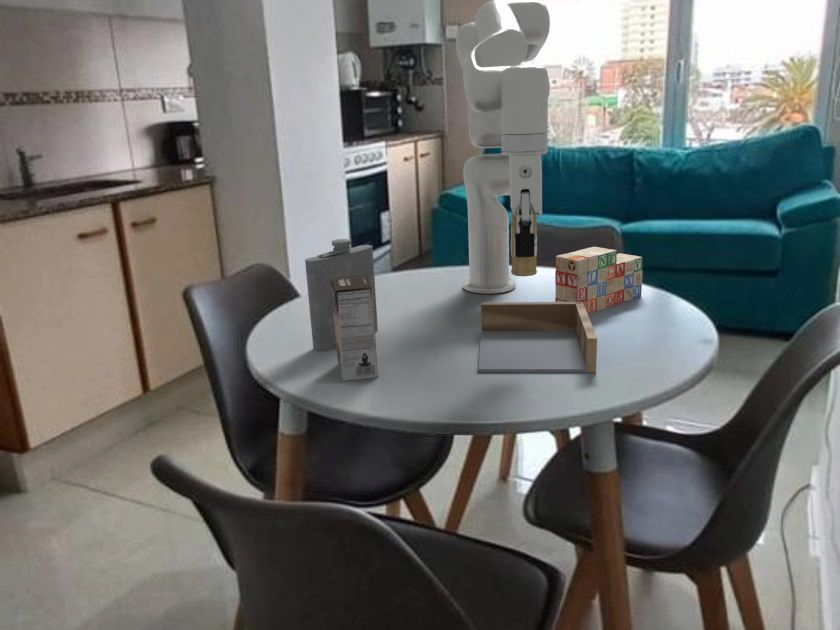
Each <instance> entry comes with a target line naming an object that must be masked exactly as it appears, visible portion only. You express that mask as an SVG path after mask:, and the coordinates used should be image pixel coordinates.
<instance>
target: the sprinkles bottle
mask: <svg viewBox="0 0 840 630" xmlns="http://www.w3.org/2000/svg"><path fill="white" fill-rule="evenodd" d="M509 206H510V211H511V226H510V252H511V253H510V256H511V269H510V270H511V271H510V274H511V275H513V276H515V277H532V276H535V275H537V273H538V270H537V255H538V235H537V234H538V230H537V229H538V227H537V221H538V220H537V219H538V218H537V217H538V213H535V212H534V209H533V233H535V243H534V256H533V257H516V256H515V233H517V218H516V216H517V213H516V216H515V215H514V214H513V212H512V206H511V203H510V205H509ZM516 210H517V207H516ZM519 215H522V211H519ZM529 215H531V211H529ZM529 219H530V218H529ZM520 220H522V219H520Z"/></svg>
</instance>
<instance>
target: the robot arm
mask: <svg viewBox="0 0 840 630" xmlns="http://www.w3.org/2000/svg"><path fill="white" fill-rule="evenodd" d="M550 18H551V17H550V13H549V10H548V8H547V6H546V4H545V3H544V2H543V1H542V0H489V1H487V2H486V3H484V4H482V5H481V6H480V7H479V8H478V10H477V12H476V14H475V17H474V21H471V22H468V23H465V24H463V25H461V26H460V27H459V28H458V29H457V31H456V34H455V48H456V55H457V60H458V62H459V65H460V67H461V71H462V81H463V87H464V93H465V97H466V98H465V99H466V101H467V120H468V123H467V124H468V135H469V136H468V137H469V140H470V143H471V145H473V147H476V148H480V149H498V148H499V149H501V153H486V154H485V153H484V154H479V155H477V154H476V155H474V156H471V157H470V158H468V159H467V160H466V161H465V163H464V164H463V169H462V170H463V171H462V176H463V183H464V189H465V195H466V205H467V206H466V207H467V219H468V220H467V223H468V224H467V225H468V226H467V227H468V228H467V229H468V261H469V262H468V264H469V266H468V268H469V270H468V271H469V273H468V274H469V279H467V280H465V281H464V282H463V286H462V288H463V289H464V290H466V291H467V292H470V293H473V294H474V293H475V294H487V295H488V294H490V295H491V294H501V293H507V292H511V291H512V290H514V289H515V288H516V281H515V280H514V279H512V278H510V255H509V254H510V253H509V252H510V248H509V247H510V245H509V243H510V241H509V240H510V229H509V227H510V226H509V225H510V223H509V222H510V221H509V213H508V211H507V209H506V207H505V206H503V204H502V203H501V202H500V201H499V200H498V197H502V196H509V198H510V204H511V206H512V208H511V209H512V211H511V213H512V212H513V214H514V215H515V216H516V213H517V216H516V218H517V233H515V256H516V257H533V256H534V243H535V233H533V209H534V212H535V213H537V216H541V215H542V214H543V169H542V167H543V164H542V163H543V162H542V155H546V154H548V128H549V127H548V123H549V122H548V120H549V116H548V115H549V98H550V90H551V85H550V78H549V73H548V70H547V68H546V67H545V66H543V65H539V64H527V65H524V64H523V65H521V64H522V63H526V62H531V61H534V59H535V58H536V57H537V55H538V54H539V53H540V51H541V50H542V48H543V47H544V44H545V43H546V41H547V39H548V36H549V34H550V27H551V19H550ZM516 207H517V210H516ZM519 211H522V215H519ZM529 211H531V215H529ZM529 218H530V219H529ZM520 219H522V220H520Z"/></svg>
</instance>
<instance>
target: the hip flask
mask: <svg viewBox="0 0 840 630" xmlns="http://www.w3.org/2000/svg"><path fill="white" fill-rule="evenodd" d="M351 245H352V240H351V239H350V238H339V239H338V238H337V239H332V240H331V246H333V250H332V251H328V252H324V253H321V254H318V255H316V256H312V257H307V258H305V259H304V262H305V273H306V274H305V275H306V284H307V285H306V286H307V295H308V304H309V317H310V318H309V319H310V326H311V327H310V328H311V339H312V348H313V349H312V350H313V351H314V352H321V353H322V352H326V351H331V350H334V349H337V348H336V337H335V325H334V314H333V301H332V289H331V279H330V278H333V277H342V276H352V275H361V274H366V275H367V277H368V279H369V281H370V283H371V285H372V288H373V305H374V322H375V334H376V333H377V332H379V328H378V327H379V325H378V310H377V296H376V281H375V266H374V264H375V263H374V262H375V261H374V249H373V245H370V244H362V245H360V244H359V245H358V246H354V247H351Z"/></svg>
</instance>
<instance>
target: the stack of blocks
mask: <svg viewBox="0 0 840 630" xmlns="http://www.w3.org/2000/svg"><path fill="white" fill-rule="evenodd" d="M643 259H644V258H643V257H642V256H638V255H632V254H627V253H618V252H617V250H616V249H609V248H605V247H598V246H592V247H586V248H583V249H579V250H576V251H572V252H571V251H570V252H568V253H563V254H558V255H556V256H555V270H554V271H555V277H554V280H555V281H554V282H555V283H554V284H555V297H554V298H555V301H554V302H583V304H584V306H585V309H586V311H587V314H590V313H594V312H598V311H601V310H603V309H607V308H609V307H612V306H615V305H619V304H622V303H625V302H627V301H631V300H635V299H638V298H640V297H642V286H643V285H642V283H643Z"/></svg>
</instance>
